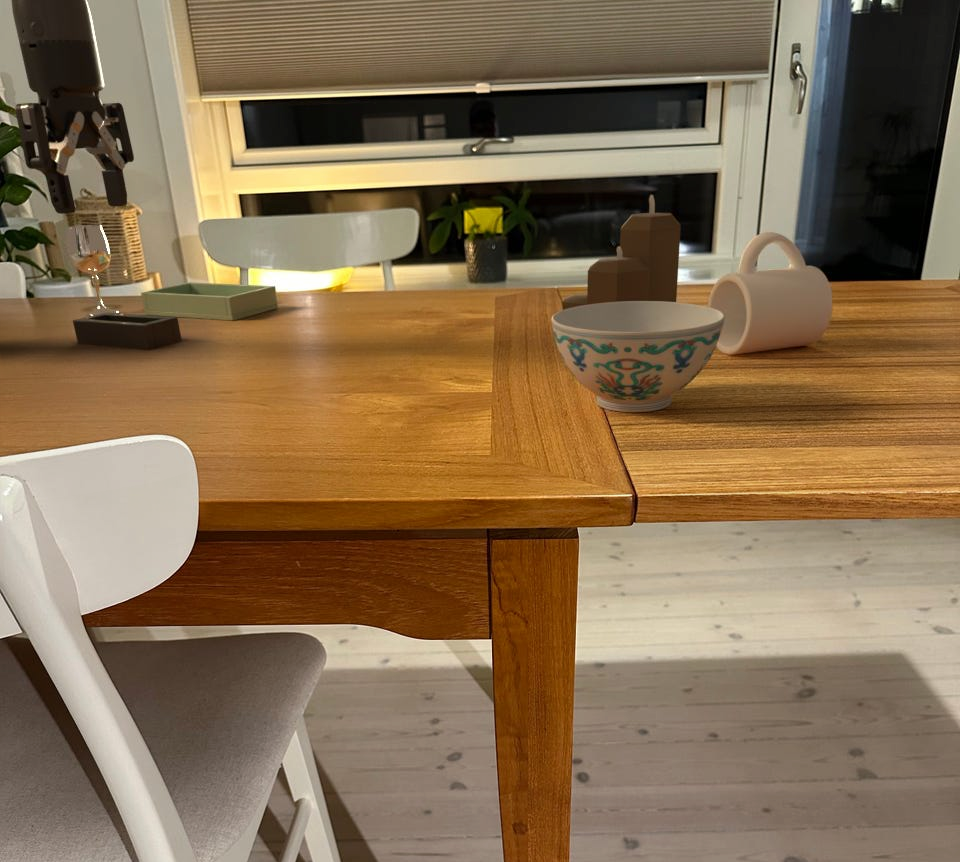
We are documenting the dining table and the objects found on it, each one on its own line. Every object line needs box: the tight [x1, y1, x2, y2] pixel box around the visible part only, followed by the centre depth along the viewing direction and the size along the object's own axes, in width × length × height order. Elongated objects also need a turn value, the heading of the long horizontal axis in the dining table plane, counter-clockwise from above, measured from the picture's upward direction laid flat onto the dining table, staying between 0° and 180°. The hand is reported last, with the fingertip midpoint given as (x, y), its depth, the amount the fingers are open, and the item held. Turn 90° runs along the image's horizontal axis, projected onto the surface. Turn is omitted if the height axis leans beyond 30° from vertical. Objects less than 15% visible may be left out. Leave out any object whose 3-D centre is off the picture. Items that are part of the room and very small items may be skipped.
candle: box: [561, 194, 682, 311], centre depth 113 cm, size 14×14×15 cm
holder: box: [140, 281, 279, 322], centre depth 140 cm, size 17×10×3 cm, turn 63°
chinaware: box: [551, 301, 725, 413], centre depth 86 cm, size 15×15×8 cm
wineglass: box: [66, 224, 119, 317], centre depth 140 cm, size 6×6×12 cm
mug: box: [707, 231, 834, 356], centre depth 102 cm, size 8×10×12 cm
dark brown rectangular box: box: [72, 312, 182, 351], centre depth 118 cm, size 12×6×4 cm, turn 63°
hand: (92, 209), depth 107 cm, fingers open, 8 cm apart
